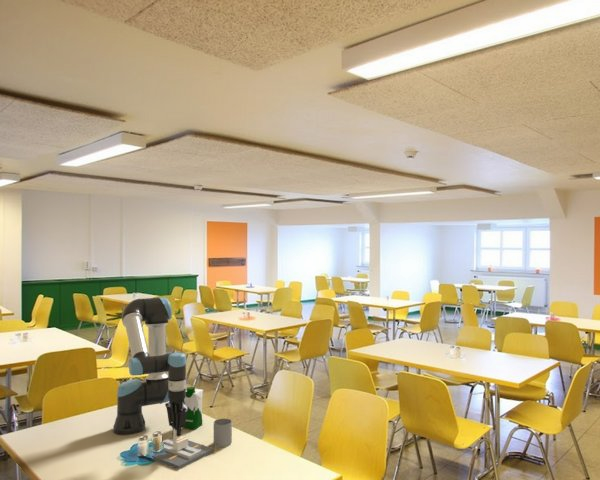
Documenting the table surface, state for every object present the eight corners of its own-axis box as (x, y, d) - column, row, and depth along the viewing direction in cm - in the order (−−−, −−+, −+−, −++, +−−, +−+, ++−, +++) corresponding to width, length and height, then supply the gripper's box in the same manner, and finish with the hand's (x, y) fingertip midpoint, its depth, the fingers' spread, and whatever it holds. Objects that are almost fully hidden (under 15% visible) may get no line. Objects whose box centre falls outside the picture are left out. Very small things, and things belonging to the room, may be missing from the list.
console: (141, 455, 204) (141, 449, 204) (176, 439, 221) (176, 434, 221) (178, 469, 191) (178, 462, 191) (213, 451, 208) (213, 445, 208)
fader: (172, 452, 203) (172, 440, 203) (183, 447, 208) (183, 436, 208) (177, 454, 202) (177, 442, 202) (188, 449, 207) (188, 437, 207)
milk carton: (180, 428, 235) (180, 388, 235) (190, 422, 243) (190, 383, 244) (195, 430, 232) (195, 390, 232) (205, 424, 240) (205, 385, 241)
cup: (227, 448, 212) (227, 425, 212) (210, 446, 213) (210, 424, 214) (234, 440, 220) (234, 419, 220) (217, 439, 222) (217, 417, 222)
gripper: (160, 388, 207) (160, 442, 207) (180, 393, 200) (180, 449, 199) (173, 384, 213) (173, 437, 213) (193, 389, 206) (193, 443, 206)
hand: (176, 443), depth 206 cm, fingers closed
